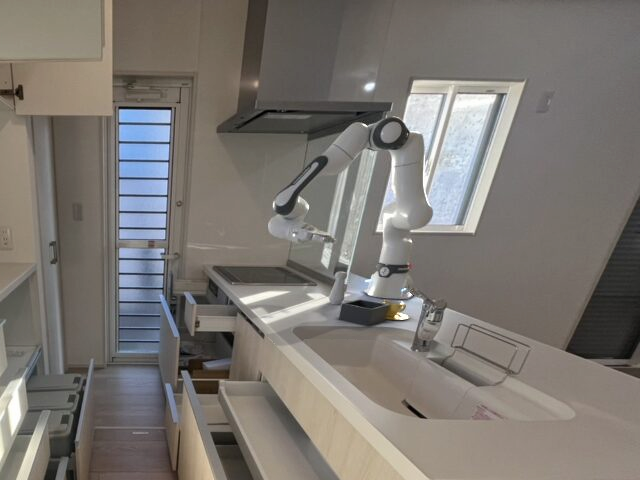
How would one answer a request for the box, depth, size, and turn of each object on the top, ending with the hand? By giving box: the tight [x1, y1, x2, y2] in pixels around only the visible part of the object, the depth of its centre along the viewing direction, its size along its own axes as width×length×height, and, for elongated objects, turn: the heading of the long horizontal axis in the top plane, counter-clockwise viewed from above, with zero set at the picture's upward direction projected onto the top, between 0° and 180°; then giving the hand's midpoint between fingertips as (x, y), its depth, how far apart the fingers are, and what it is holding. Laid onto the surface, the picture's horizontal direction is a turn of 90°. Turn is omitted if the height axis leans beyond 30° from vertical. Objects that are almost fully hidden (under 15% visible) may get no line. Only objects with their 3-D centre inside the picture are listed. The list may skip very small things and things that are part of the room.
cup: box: [381, 299, 410, 321], centre depth 151 cm, size 12×12×5 cm
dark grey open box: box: [338, 298, 389, 327], centre depth 148 cm, size 11×11×6 cm
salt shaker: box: [328, 271, 348, 306], centre depth 169 cm, size 6×6×13 cm
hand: (329, 240), depth 169 cm, fingers open, 8 cm apart
